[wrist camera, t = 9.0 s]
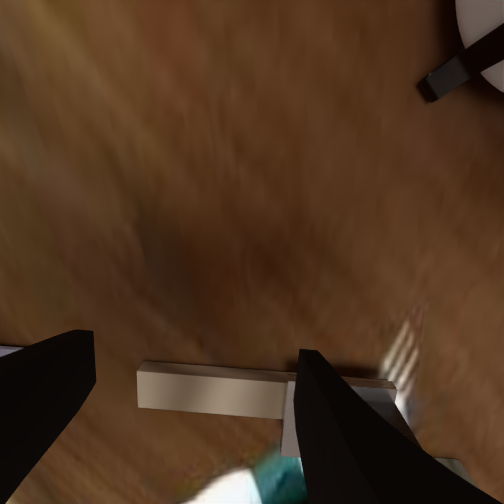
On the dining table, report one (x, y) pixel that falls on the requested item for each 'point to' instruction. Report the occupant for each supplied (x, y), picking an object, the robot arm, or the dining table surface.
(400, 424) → the slider
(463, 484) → the robot arm
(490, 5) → the coffee press
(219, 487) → the dining table surface
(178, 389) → the rail
